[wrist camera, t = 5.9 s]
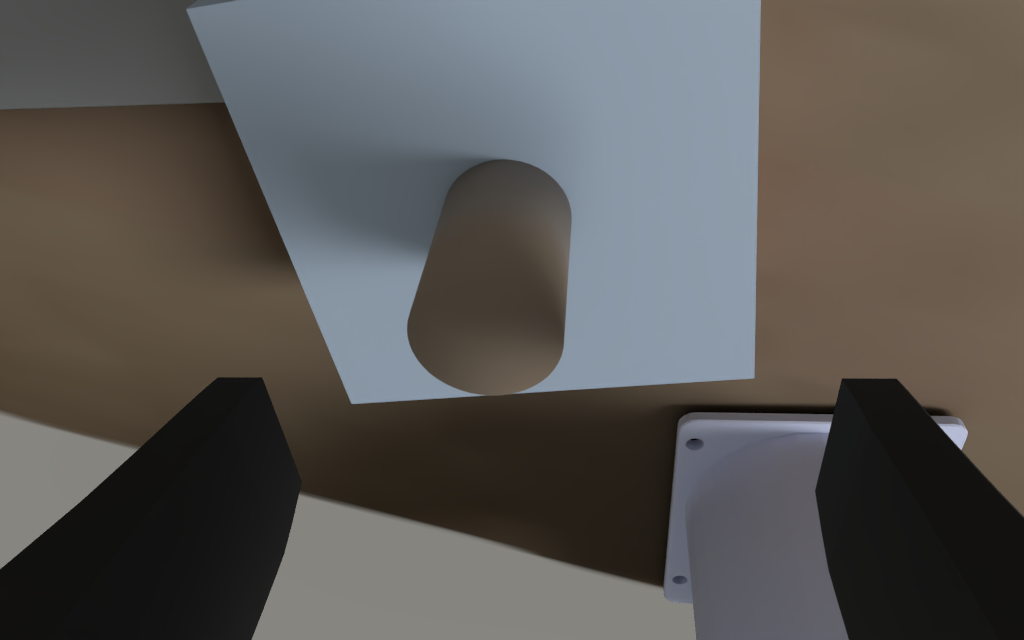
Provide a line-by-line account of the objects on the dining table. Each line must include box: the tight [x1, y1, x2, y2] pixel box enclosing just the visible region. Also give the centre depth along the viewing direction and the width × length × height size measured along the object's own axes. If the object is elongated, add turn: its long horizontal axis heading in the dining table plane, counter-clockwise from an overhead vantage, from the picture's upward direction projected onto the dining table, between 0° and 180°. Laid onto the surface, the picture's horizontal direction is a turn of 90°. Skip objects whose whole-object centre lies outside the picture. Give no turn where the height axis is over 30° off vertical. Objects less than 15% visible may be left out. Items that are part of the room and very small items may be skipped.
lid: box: [186, 0, 761, 404], centre depth 14 cm, size 9×9×4 cm
